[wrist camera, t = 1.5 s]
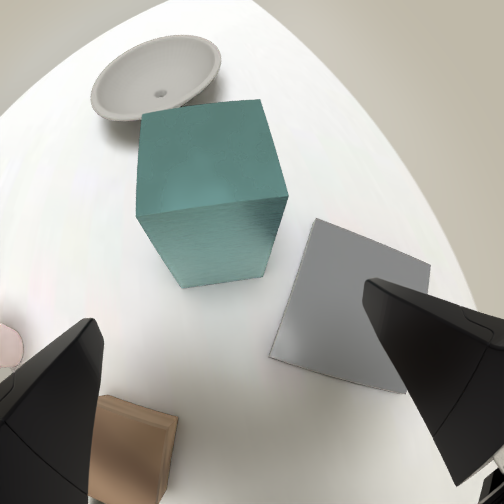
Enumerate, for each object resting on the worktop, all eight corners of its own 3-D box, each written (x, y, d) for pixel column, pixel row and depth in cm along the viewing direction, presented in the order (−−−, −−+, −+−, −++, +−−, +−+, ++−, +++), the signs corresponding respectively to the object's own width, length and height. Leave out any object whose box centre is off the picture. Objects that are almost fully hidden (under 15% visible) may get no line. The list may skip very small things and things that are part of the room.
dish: (199, 158, 27) (194, 123, 23) (80, 150, 27) (64, 121, 23) (234, 65, 34) (235, 36, 29) (139, 63, 34) (133, 37, 29)
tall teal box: (262, 276, 23) (288, 196, 12) (181, 288, 23) (135, 216, 12) (249, 206, 26) (260, 99, 15) (175, 216, 25) (141, 114, 14)
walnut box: (168, 492, 16) (153, 520, 12) (96, 467, 16) (67, 485, 12) (181, 415, 19) (166, 429, 14) (105, 391, 19) (74, 396, 14)
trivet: (399, 393, 20) (405, 394, 19) (268, 356, 21) (270, 356, 20) (425, 268, 25) (430, 264, 24) (313, 223, 25) (316, 217, 25)
